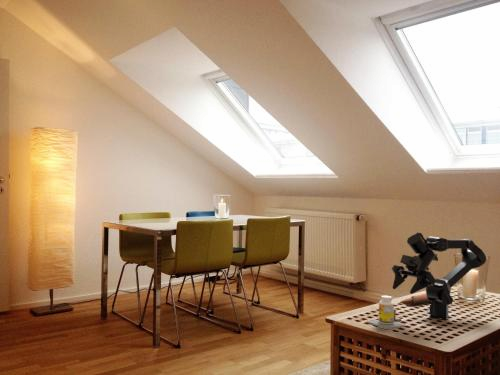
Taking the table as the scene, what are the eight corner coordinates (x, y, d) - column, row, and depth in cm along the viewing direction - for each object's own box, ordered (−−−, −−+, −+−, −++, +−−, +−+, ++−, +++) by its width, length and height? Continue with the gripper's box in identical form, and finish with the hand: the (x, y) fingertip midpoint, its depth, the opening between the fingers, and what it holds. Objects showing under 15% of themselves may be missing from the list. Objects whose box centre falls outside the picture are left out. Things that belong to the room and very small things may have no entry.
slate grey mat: (386, 320, 195) (386, 318, 195) (405, 326, 187) (405, 325, 187) (367, 322, 191) (367, 321, 191) (385, 329, 182) (385, 327, 182)
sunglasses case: (421, 298, 238) (427, 287, 235) (432, 308, 233) (438, 297, 230) (397, 302, 227) (404, 291, 224) (408, 313, 222) (415, 302, 219)
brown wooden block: (381, 313, 206) (381, 302, 206) (389, 313, 206) (389, 302, 206) (392, 321, 194) (392, 309, 194) (401, 321, 194) (401, 309, 194)
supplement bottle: (379, 320, 192) (379, 294, 192) (393, 321, 190) (394, 295, 191) (378, 324, 187) (378, 297, 187) (393, 325, 185) (394, 298, 185)
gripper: (395, 245, 203) (374, 273, 198) (431, 250, 187) (409, 281, 181) (408, 263, 207) (388, 291, 202) (445, 270, 190) (424, 301, 185)
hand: (401, 290), depth 192 cm, fingers open, 9 cm apart
